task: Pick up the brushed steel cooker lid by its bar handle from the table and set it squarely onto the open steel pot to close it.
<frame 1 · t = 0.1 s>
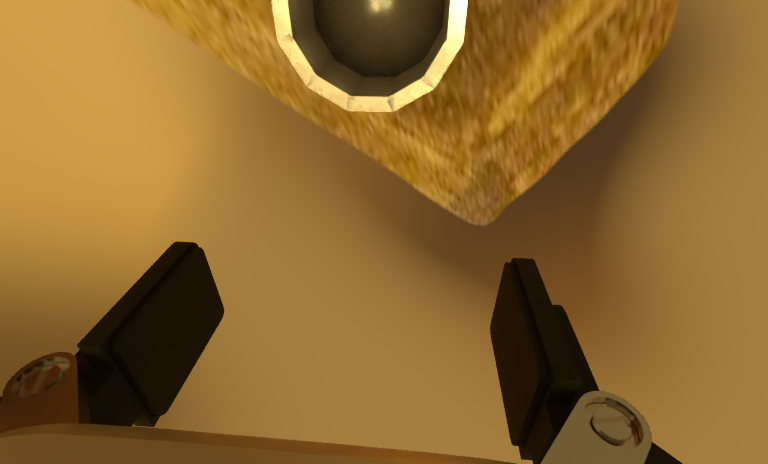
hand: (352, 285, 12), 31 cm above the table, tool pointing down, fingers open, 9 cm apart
pot: (379, 5, 34), on the table
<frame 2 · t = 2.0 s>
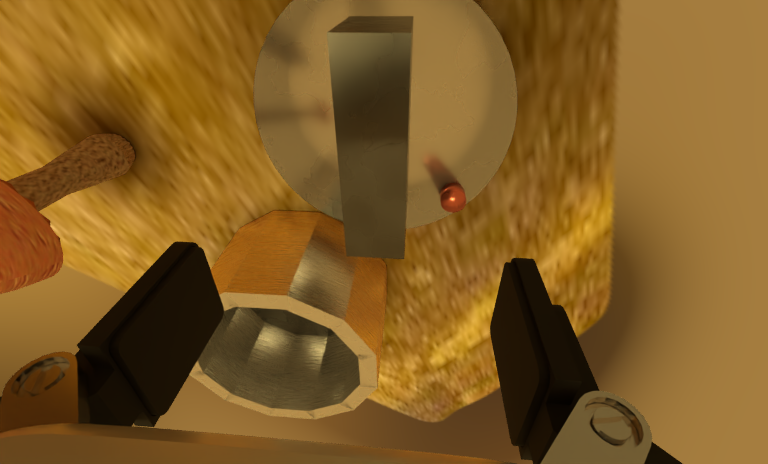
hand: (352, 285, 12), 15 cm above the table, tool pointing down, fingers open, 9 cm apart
pot: (308, 277, 33), on the table
mushroom: (114, 145, 27), on the table
lid: (386, 109, 24), on the table
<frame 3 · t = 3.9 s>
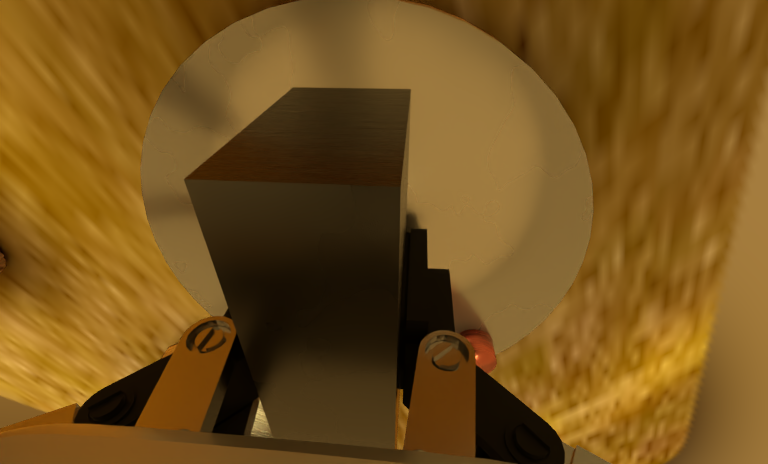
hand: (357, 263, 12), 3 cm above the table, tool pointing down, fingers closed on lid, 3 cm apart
pot: (269, 402, 24), on the table
lid: (369, 211, 15), on the table, touching gripper
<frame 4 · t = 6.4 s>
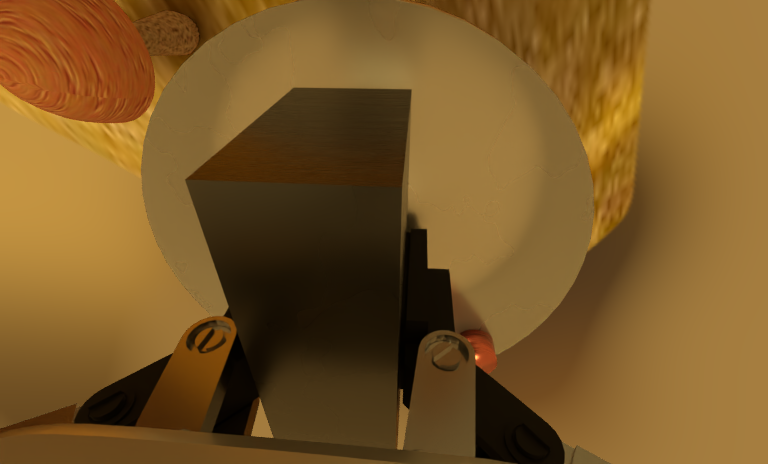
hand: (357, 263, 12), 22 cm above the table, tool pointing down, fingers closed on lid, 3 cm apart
mushroom: (179, 28, 29), on the table
lid: (369, 211, 15), point 18 cm above the table, touching gripper
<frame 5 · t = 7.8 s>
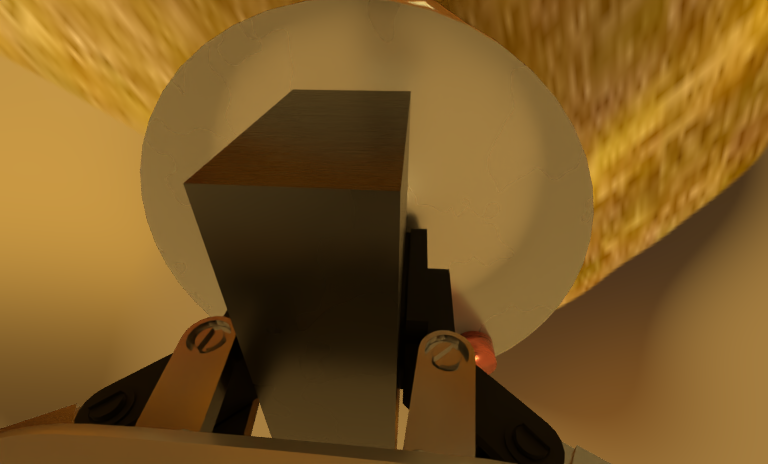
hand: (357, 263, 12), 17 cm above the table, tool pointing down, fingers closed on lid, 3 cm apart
lid: (369, 212, 15), point 14 cm above the table, touching gripper
when the fingers open (12 cm above the table, at t = 8.9 s): lid drops 1 cm, resting on pot.
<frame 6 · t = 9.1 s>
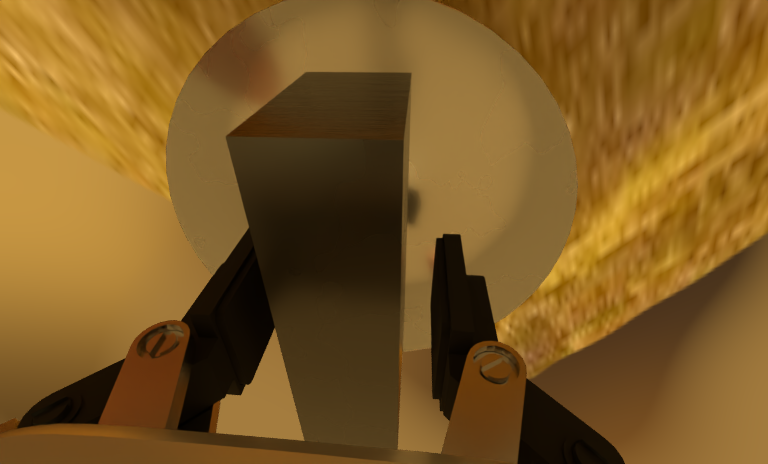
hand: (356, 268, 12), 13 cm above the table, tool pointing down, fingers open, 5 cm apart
lid: (373, 191, 16), point 7 cm above the table, touching pot
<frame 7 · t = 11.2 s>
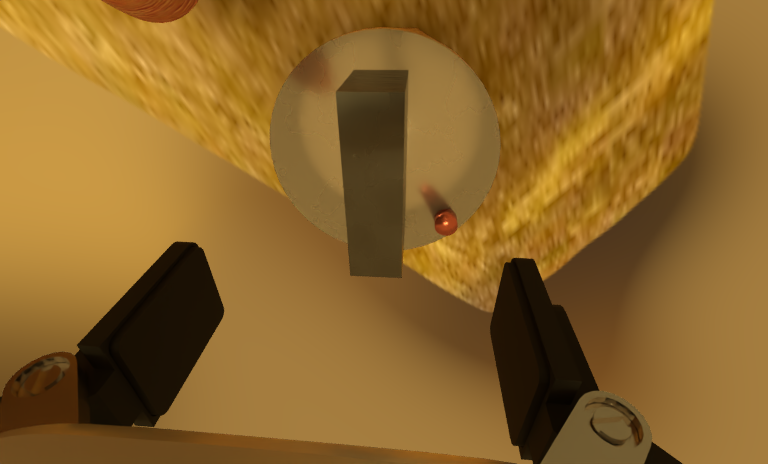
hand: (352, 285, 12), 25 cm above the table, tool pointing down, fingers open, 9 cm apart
lid: (385, 144, 27), point 7 cm above the table, touching pot
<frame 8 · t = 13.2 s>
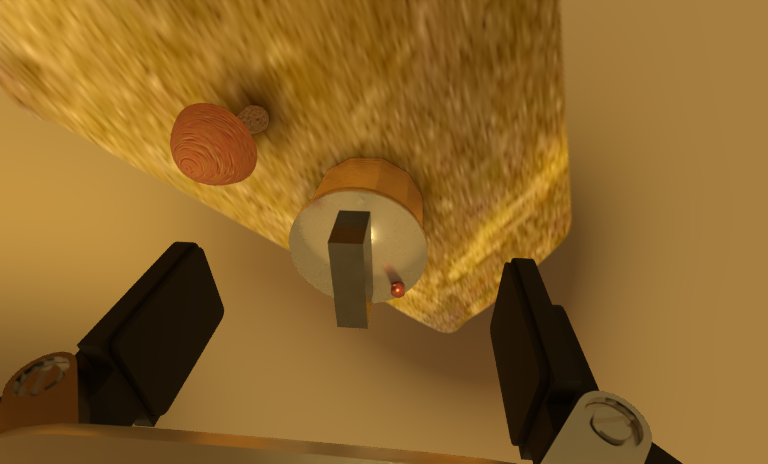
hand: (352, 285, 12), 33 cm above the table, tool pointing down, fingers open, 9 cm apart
pot: (368, 207, 49), on the table
mushroom: (255, 113, 43), on the table
lid: (360, 239, 43), point 7 cm above the table, touching pot
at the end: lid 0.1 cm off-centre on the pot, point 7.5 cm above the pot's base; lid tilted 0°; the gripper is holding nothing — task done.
